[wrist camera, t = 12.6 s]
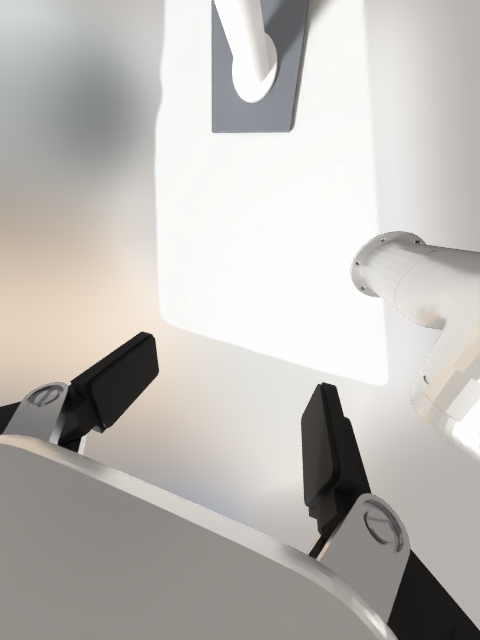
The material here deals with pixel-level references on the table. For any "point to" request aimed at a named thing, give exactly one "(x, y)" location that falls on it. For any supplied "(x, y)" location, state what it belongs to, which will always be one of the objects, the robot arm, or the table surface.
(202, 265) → the table surface
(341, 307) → the table surface
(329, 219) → the table surface
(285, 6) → the mat
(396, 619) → the robot arm
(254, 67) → the candle
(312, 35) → the table surface
